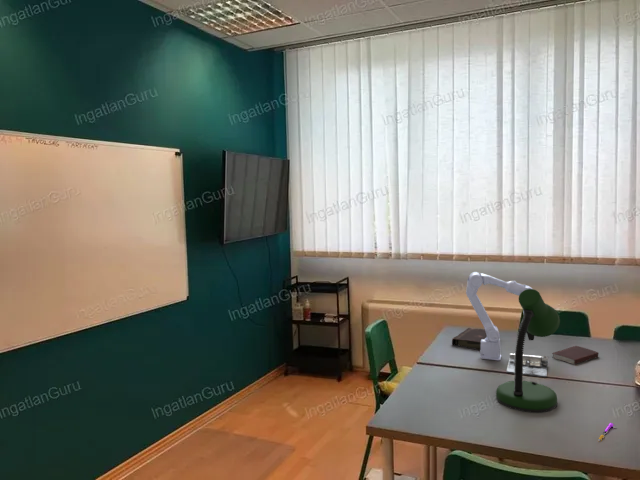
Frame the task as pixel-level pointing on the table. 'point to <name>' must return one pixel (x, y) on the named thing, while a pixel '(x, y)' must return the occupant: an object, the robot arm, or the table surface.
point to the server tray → (529, 368)
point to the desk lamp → (519, 392)
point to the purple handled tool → (606, 430)
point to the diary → (470, 338)
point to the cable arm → (531, 358)
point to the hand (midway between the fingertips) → (531, 337)
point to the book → (575, 354)
